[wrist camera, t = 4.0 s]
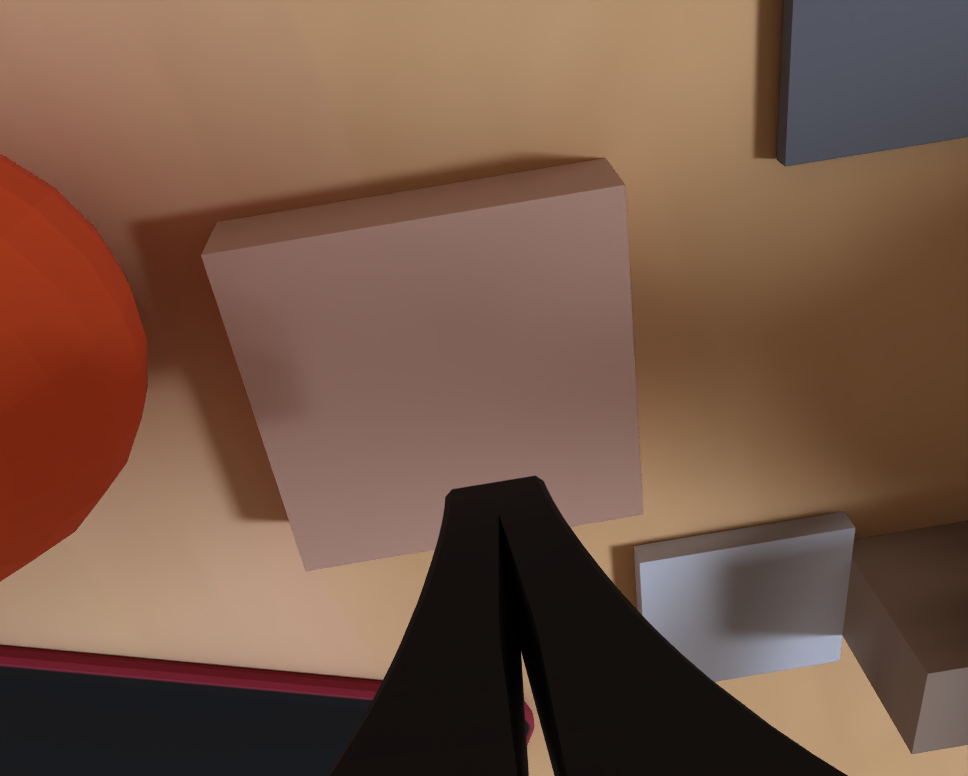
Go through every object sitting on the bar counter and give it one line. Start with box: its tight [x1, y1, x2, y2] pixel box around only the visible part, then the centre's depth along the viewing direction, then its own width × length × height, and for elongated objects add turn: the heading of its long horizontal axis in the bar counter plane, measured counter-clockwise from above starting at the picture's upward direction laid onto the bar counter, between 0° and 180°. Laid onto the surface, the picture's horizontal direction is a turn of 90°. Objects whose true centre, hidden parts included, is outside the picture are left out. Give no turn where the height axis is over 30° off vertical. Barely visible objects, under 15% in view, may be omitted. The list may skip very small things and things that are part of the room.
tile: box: [201, 158, 643, 571], centre depth 17 cm, size 2×7×7 cm
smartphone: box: [0, 646, 534, 776], centre depth 23 cm, size 7×1×15 cm
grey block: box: [634, 512, 968, 754], centre depth 20 cm, size 11×4×4 cm, turn 98°
